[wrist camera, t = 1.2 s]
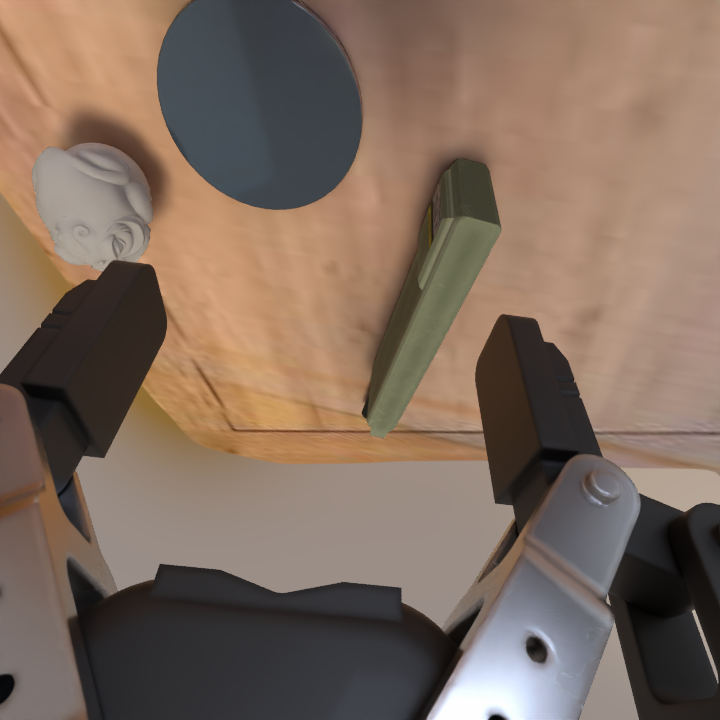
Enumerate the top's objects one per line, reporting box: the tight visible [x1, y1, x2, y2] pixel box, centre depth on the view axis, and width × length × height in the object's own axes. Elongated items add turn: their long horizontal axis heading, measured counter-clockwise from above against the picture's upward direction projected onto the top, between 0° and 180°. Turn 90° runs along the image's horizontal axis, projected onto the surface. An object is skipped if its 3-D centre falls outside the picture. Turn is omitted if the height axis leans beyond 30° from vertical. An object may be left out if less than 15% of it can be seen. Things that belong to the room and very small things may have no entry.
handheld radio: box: [362, 159, 501, 438], centre depth 33 cm, size 7×3×25 cm
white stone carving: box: [32, 143, 154, 272], centre depth 25 cm, size 6×7×7 cm
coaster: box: [157, 0, 363, 210], centre depth 24 cm, size 11×11×1 cm
